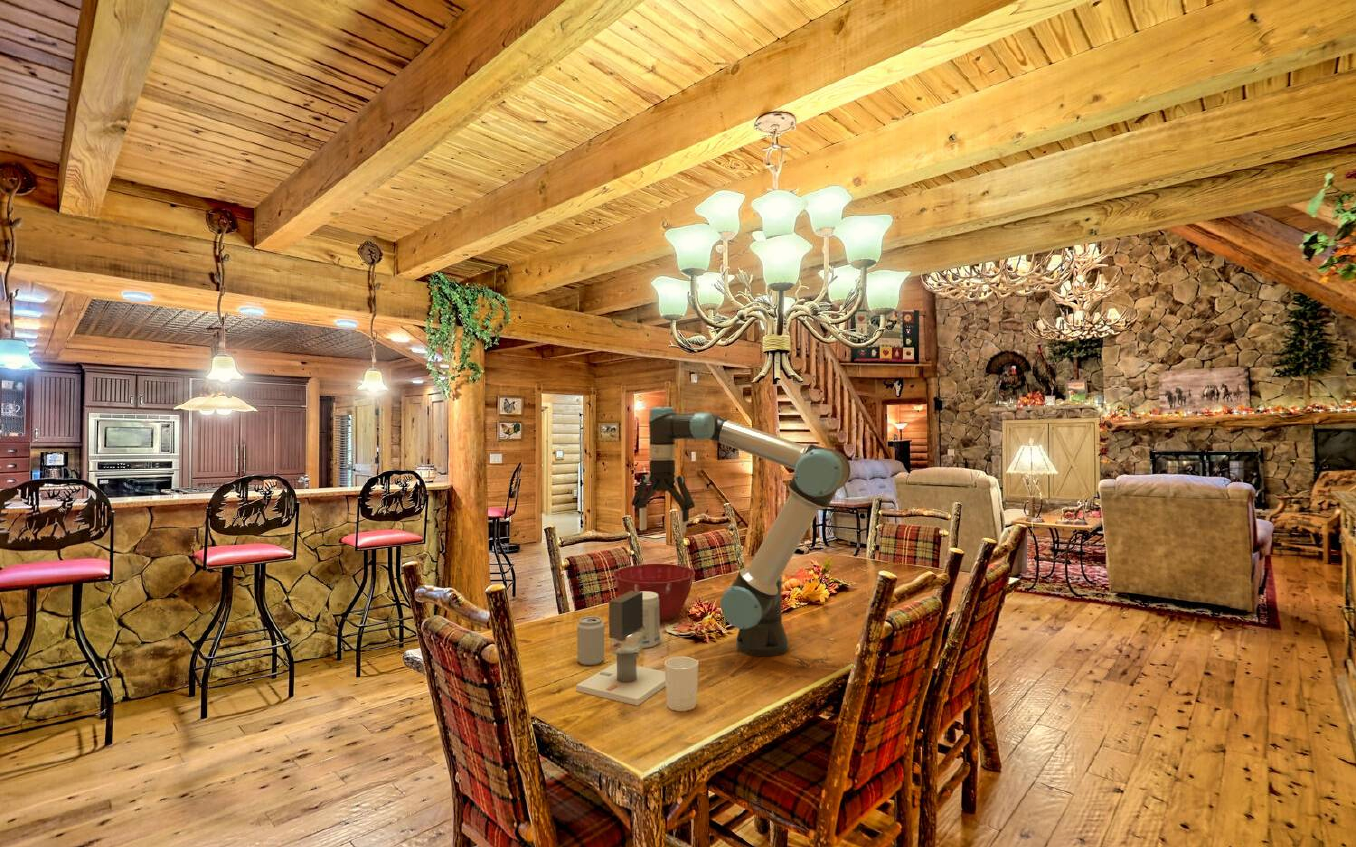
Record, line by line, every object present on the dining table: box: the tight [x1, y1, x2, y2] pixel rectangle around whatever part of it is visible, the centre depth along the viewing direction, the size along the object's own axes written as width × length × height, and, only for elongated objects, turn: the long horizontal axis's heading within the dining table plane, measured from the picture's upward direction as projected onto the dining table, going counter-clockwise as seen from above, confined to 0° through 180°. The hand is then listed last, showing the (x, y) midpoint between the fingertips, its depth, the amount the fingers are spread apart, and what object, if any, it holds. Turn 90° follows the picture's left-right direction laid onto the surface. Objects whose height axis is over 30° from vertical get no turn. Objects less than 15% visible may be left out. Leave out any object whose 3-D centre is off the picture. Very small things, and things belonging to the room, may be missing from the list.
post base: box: [575, 652, 666, 707], centre depth 160 cm, size 18×18×9 cm
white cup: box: [664, 656, 699, 712], centre depth 148 cm, size 8×8×10 cm
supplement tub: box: [640, 591, 661, 649], centre depth 192 cm, size 10×10×15 cm
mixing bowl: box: [612, 563, 696, 622], centre depth 220 cm, size 28×28×16 cm
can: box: [576, 615, 605, 667], centre depth 176 cm, size 8×8×12 cm
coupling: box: [608, 591, 643, 654], centre depth 160 cm, size 12×8×13 cm, turn 156°
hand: (662, 531), depth 186 cm, fingers open, 13 cm apart
